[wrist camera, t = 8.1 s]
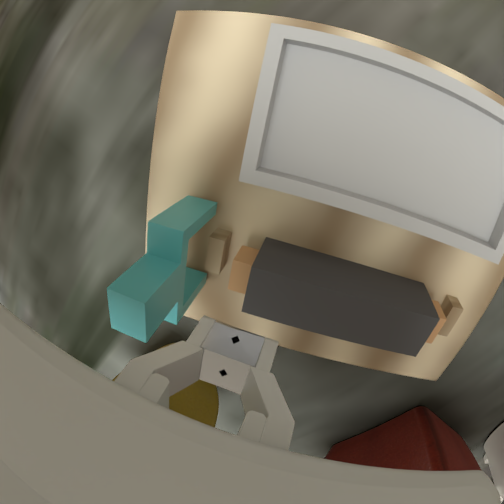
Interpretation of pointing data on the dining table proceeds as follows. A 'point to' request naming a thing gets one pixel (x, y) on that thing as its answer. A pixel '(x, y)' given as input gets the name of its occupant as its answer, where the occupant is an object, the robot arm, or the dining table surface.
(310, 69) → the tray
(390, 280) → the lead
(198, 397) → the flower pot
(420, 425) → the plant pot
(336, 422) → the dining table surface
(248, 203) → the board
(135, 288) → the teal stepped block
